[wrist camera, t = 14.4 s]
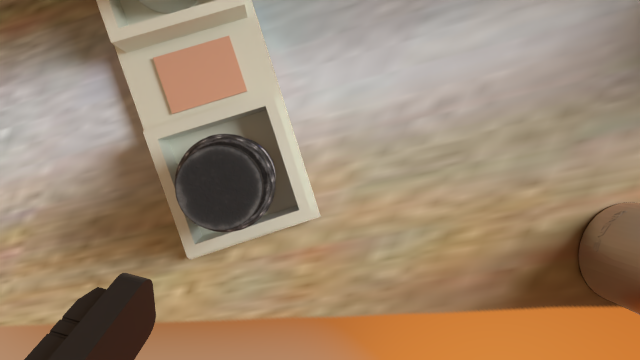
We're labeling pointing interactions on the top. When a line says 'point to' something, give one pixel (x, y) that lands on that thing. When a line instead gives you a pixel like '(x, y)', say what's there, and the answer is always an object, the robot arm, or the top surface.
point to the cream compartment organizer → (208, 100)
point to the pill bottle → (225, 182)
